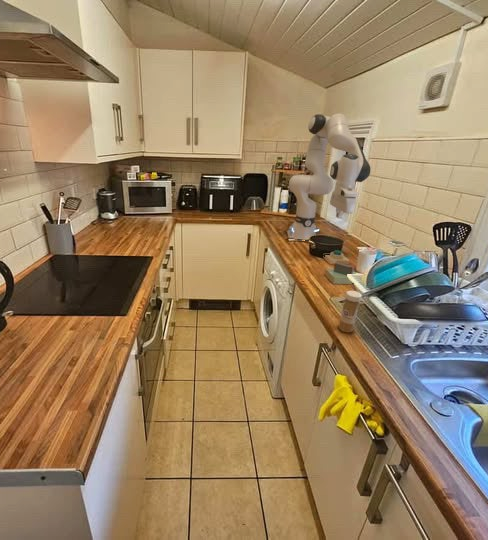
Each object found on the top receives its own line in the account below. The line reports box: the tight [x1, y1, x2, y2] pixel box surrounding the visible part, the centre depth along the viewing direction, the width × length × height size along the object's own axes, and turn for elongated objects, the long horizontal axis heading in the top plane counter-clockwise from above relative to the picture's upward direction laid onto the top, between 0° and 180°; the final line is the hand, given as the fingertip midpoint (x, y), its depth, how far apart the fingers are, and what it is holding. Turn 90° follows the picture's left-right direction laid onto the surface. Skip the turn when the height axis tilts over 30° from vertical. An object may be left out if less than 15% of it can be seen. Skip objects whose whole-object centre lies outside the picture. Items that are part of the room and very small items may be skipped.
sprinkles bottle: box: [338, 290, 363, 333], centre depth 97 cm, size 5×5×14 cm
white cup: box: [355, 248, 378, 274], centre depth 144 cm, size 8×8×10 cm
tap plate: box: [324, 268, 357, 285], centre depth 136 cm, size 12×12×3 cm
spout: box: [333, 262, 355, 275], centre depth 135 cm, size 8×2×4 cm, turn 47°
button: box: [333, 249, 342, 255], centre depth 156 cm, size 4×4×2 cm
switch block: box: [322, 251, 351, 265], centre depth 157 cm, size 10×10×4 cm
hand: (338, 217), depth 152 cm, fingers closed
